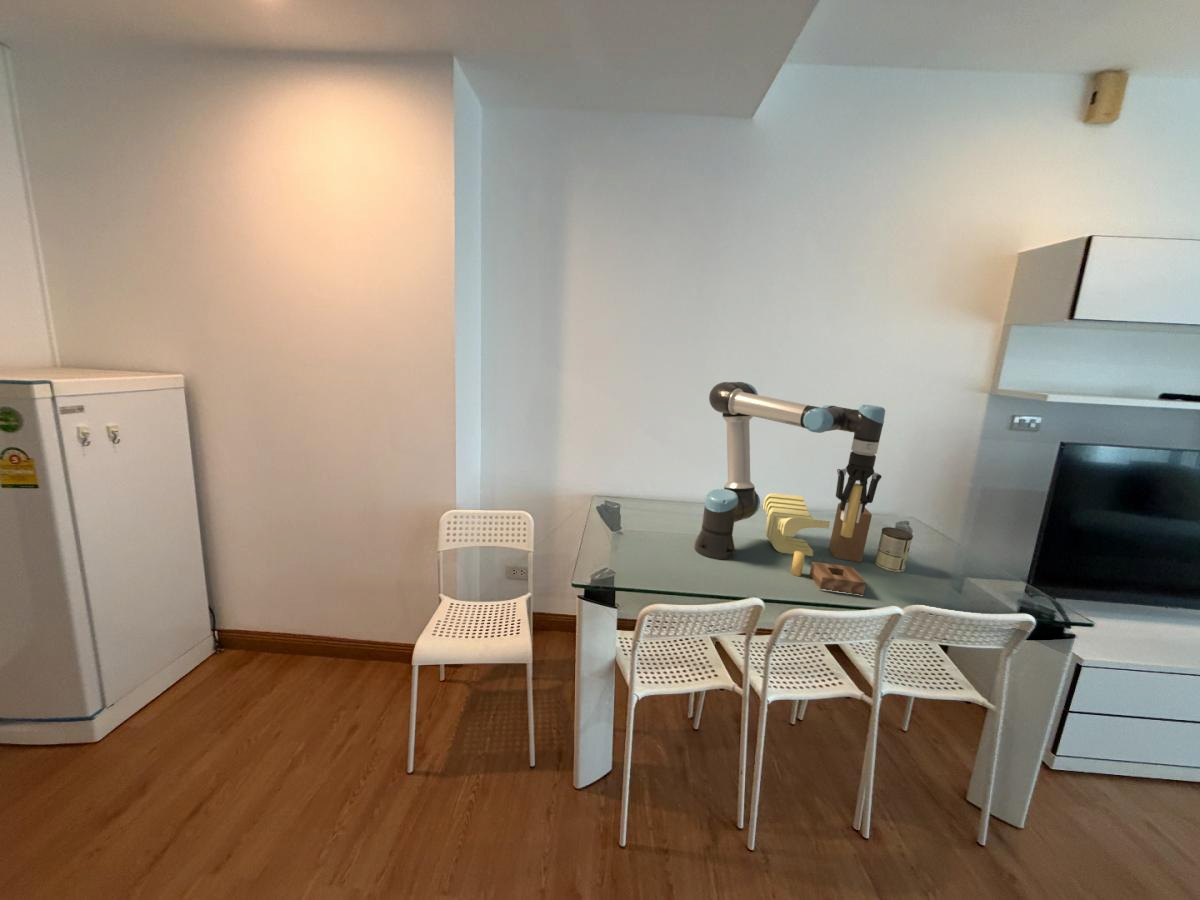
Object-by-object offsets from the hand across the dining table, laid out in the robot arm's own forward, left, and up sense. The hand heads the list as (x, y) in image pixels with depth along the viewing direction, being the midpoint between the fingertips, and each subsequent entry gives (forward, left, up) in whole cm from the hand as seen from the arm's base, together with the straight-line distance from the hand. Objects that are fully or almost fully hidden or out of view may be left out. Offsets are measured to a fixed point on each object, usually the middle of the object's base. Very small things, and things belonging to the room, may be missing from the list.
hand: (849, 520), depth 167 cm
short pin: (-12, +5, -24) cm, 27 cm away
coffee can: (+28, +24, -24) cm, 44 cm away
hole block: (0, 0, -24) cm, 24 cm away
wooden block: (+13, +29, -24) cm, 40 cm away
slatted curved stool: (-9, +30, -24) cm, 40 cm away
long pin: (0, 0, -5) cm, 5 cm away
